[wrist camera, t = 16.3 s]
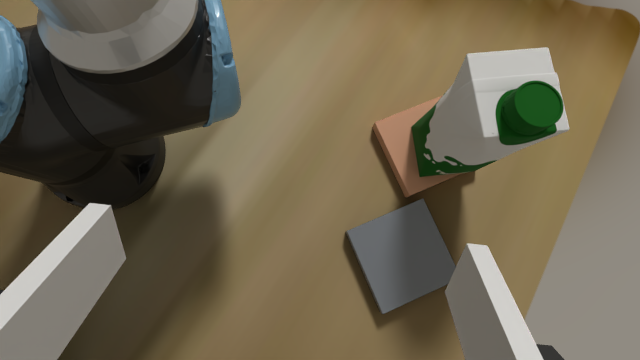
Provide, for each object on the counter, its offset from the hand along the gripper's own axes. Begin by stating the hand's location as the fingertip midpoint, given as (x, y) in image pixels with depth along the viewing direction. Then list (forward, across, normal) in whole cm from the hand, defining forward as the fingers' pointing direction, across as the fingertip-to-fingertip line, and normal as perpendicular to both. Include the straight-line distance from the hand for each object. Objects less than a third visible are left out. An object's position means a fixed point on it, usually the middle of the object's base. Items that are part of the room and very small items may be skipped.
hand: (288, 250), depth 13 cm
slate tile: (+24, +13, -23) cm, 36 cm away
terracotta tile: (+35, +16, -12) cm, 40 cm away
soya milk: (+33, +17, -12) cm, 39 cm away
